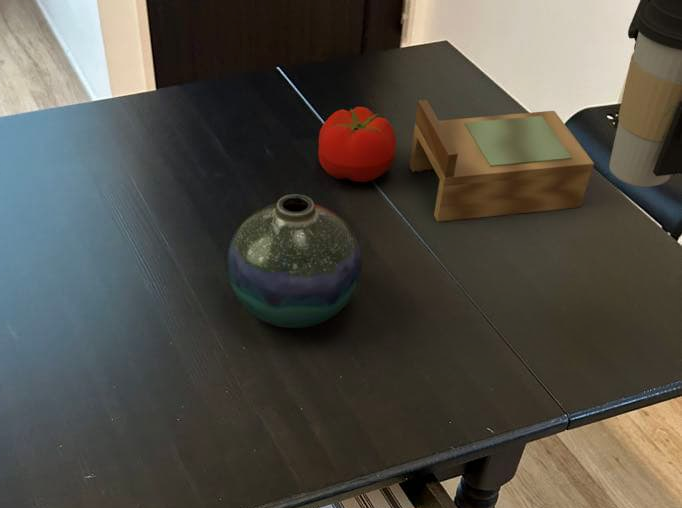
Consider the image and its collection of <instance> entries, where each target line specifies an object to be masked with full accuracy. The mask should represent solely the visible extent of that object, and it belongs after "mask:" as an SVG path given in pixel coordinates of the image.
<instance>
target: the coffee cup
mask: <svg viewBox="0 0 682 508" xmlns="http://www.w3.org/2000/svg"><path fill="white" fill-rule="evenodd" d="M635 26H636V28H637V30H638V31H639V33H638V37H637V42H635V43H636V46H635V51H634V50H633V52H632V54H631V57H630V61H629V65H628V69H627V75H626V79H625V84H624V88H623V93H622V99H621V101H620V105H619V109H620V111H619V110H618V112H619V115H618V114H617V115H618V120H619V123H618V127H617V129H616V132H615V137H614V140H613V141H614V142H613V146H612V151H611V155H610V160H609V165H608V167H609V170H610V173H611V174H612V175H613V176H614V177H615V178H616V179H617V180H619V181H620V182H623V183H625V184H627V185H631V186H634V187H640V188H641V187H642V188H649V187H655V186H659V185H662V184H664V183H667V182H668V181H669V179H671V176H672V175H664V176H656V175H655V174H654V173H653V170H654V168H655V165H656V162H657V160H658V157H659V155H660V152H661V149H662V147H663V144H664V142H665V139H666V136H667V134H668V131H669V128H670V126H671V123H672V121H673V118H674V115H675V113H676V110H677V107H678V105H679V102H680V101H682V0H650V2H648V3H646V4H645V5H644V6H642V8H641V9H640V11H639V15H638V16H637V17H636V19H635Z"/></svg>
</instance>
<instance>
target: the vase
mask: <svg viewBox="0 0 682 508" xmlns="http://www.w3.org/2000/svg"><path fill="white" fill-rule="evenodd" d="M360 245H361V244H360V243H359V239H358V237H357V235H356V233H355V231H354V229H353V228H352V227H351V226H350V225H349V224H348V222H347V221H346V220H345V219H344V218H342V217H341V216H340V215H339V214H337V213H336V212H334V211H332V210H331V209H329V208H326V207H325V206H323V205H319V204H317V203H315V202H314V201H313V200H312V198H310V197H309V196H306V195H304V194H299V193H292V194H286V195H284V196H281V197H280V199H278V201H277V202H275V203H271V204H269V205H267V206H264V207H262V208H260V209H258V210H255V212H253V213H251V214H250V215H249V216H248V217H246V218H245V219H244V220H243V221H242V222H241V223H240V224H239V225H238V227H237V228H236V230H235V231H234V233H233V234H232V236H231V239H230V242H229V245H228V248H227V254H226V255H227V256H226V269H227V276H228V280H229V283H230V285H231V289H232V290H233V294H234V295H235V296H236V297H237V299H238V301H239V303H240V304H241V305H242V306H243V307H244V308H245V310H247V311H248V312H249V314H251V315H252V316H254V317H255V318H256V319H258V320H260V321H262V322H263V323H266V324H268V325H271V326H274V327H275V326H276V327H279V328H286V329H301V328H302V329H303V328H309V327H313V326H318V325H320V324H322V323H324V322H326V321H328V320H331V318H333V317H335V316H337V314H339V313H340V312H341V310H343V309H344V308H345V307H346V305H347V304H348V303H349V301H350V300H351V299H352V298H353V296H354V293H355V292H356V289H357V287H358V285H359V282H360V278H361V272H362V266H363V259H362V258H363V255H362V249H361V246H360Z"/></svg>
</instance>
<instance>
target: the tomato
mask: <svg viewBox="0 0 682 508" xmlns="http://www.w3.org/2000/svg"><path fill="white" fill-rule="evenodd" d="M379 115H380V113H377V114H375V113H373V112H372V111H371V110H370V109H369V108H367V107H364V106H356V107H354V108H353V109H352V108H351V107H350V108H349V110H347V109H339V110H337V111H335V112H333V113H332V114H331V115H330V116H329V117H328V118H327V119H326V120H325V122H324V123H323V125H322V126H321V128H320V130H319V135H318V161H319V163H320V166H321V168H323V169H324V171H325V172H326V173H327V174H328V175H329V176H331V177H333V178H335V179H336V180H346V179H348V180H350V181H352V182H355V183H356V182H357V183H367V182H370V181H373V180H375V179H376V178H379V177H380V176H382V175H384V174H385V173H386V172H387V171H388V170H389V169H390V168H391V166H392V164H393V162H394V159H395V155H396V154H395V153H396V150H397V137H396V134H395V131H394V128H393V127H392V125H391V124H390V122H389V121H388V120H387V118H384V117H381V116H379Z"/></svg>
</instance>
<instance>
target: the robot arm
mask: <svg viewBox="0 0 682 508" xmlns="http://www.w3.org/2000/svg"><path fill="white" fill-rule="evenodd" d="M648 2H650V0H639V2H638V5H637V7H636V10H635V11H634V12H635V13H633V14H634V15H633V17H632V19H631V22H630V24H629V27H628V30H627V36H628V38H629V39H633V40H634V41H635V43H634V45H633V46H634V47H633V52H634V51H635V46H636V42H637V37H638V33H639V31H638V30H637V28H636V26H635V19H636V17H637V16H638V15H639V11H640V9H641V8H642V6H644V5H645V4H646V3H648ZM619 111H620V108H618V112H617V115H616V119H615V120H614V125H613V127H614V128H615V130H617V127H618V123H619V120H618V115H619ZM653 173H654V174H655V175H656V176H664V175H671V176H673V175H680V174H682V101H680V102H679V105H678V107H677V110H676V113H675V115H674V118H673V121H672V123H671V126H670V128H669V131H668V134H667V136H666V139H665V142H664V144H663V147H662V149H661V152H660V155H659V157H658V160H657V162H656V165H655V168H654V170H653Z"/></svg>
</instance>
